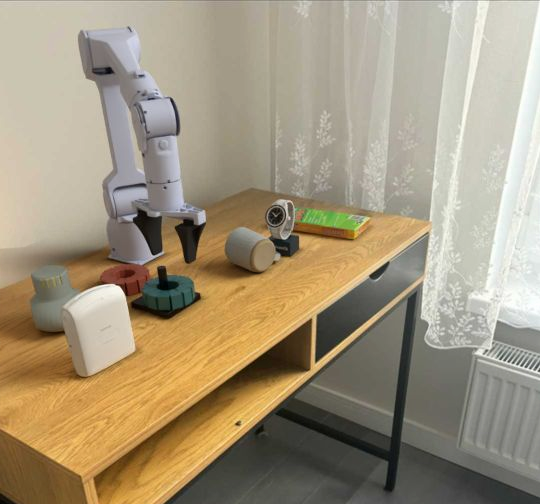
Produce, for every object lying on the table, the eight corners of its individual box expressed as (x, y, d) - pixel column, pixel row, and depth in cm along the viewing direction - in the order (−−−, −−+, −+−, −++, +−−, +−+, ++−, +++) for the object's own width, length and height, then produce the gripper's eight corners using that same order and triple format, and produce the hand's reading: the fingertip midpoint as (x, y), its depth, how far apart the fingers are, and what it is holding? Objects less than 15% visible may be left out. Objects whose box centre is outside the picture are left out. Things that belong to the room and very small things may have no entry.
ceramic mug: (252, 279, 119) (250, 241, 115) (225, 268, 124) (222, 231, 120) (290, 263, 125) (289, 227, 122) (262, 253, 131) (261, 218, 127)
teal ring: (133, 303, 110) (131, 290, 108) (166, 283, 116) (165, 271, 115) (172, 314, 105) (170, 301, 104) (205, 293, 112) (203, 280, 111)
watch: (263, 256, 129) (260, 205, 123) (280, 242, 135) (278, 194, 129) (286, 260, 127) (285, 208, 121) (303, 246, 133) (302, 196, 127)
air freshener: (35, 315, 110) (21, 264, 105) (82, 306, 112) (70, 255, 107) (39, 343, 101) (24, 289, 96) (90, 332, 103) (78, 279, 98)
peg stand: (131, 307, 111) (124, 271, 107) (164, 288, 117) (159, 253, 113) (168, 319, 107) (163, 281, 103) (201, 298, 113) (197, 262, 109)
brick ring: (92, 290, 118) (90, 277, 117) (126, 272, 125) (124, 260, 123) (127, 300, 114) (124, 287, 112) (160, 281, 120) (158, 269, 119)
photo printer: (86, 381, 91) (69, 307, 84) (70, 371, 93) (51, 299, 87) (140, 352, 97) (128, 281, 91) (123, 343, 100) (110, 274, 93)
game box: (353, 243, 135) (272, 226, 143) (369, 229, 142) (290, 214, 150) (355, 230, 133) (272, 214, 141) (370, 216, 141) (291, 202, 149)
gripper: (113, 179, 99) (126, 257, 106) (181, 191, 92) (191, 274, 99) (143, 169, 104) (154, 244, 111) (210, 179, 97) (217, 258, 104)
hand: (173, 257), depth 105 cm, fingers open, 7 cm apart
